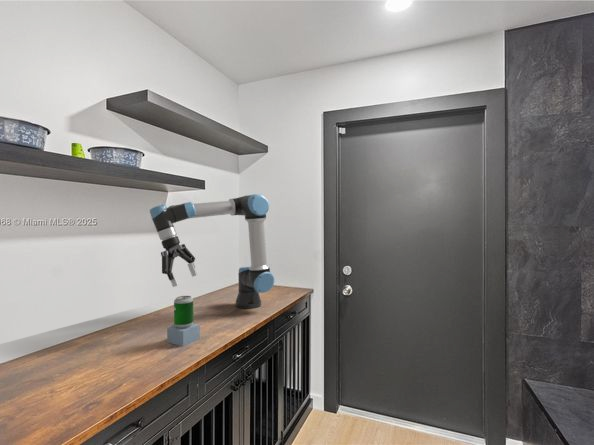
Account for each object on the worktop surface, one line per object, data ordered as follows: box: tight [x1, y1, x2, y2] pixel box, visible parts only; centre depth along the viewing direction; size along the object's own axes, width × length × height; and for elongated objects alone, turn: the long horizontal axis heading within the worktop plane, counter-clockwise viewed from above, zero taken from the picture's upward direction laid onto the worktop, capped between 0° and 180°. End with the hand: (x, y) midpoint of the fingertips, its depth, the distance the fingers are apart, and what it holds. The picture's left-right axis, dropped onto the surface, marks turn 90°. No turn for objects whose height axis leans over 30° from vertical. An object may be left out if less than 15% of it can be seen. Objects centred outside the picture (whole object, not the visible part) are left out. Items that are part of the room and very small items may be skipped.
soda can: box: [173, 295, 194, 328], centre depth 131 cm, size 8×8×12 cm
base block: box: [166, 322, 201, 347], centre depth 131 cm, size 9×9×6 cm
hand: (185, 280), depth 147 cm, fingers open, 13 cm apart
